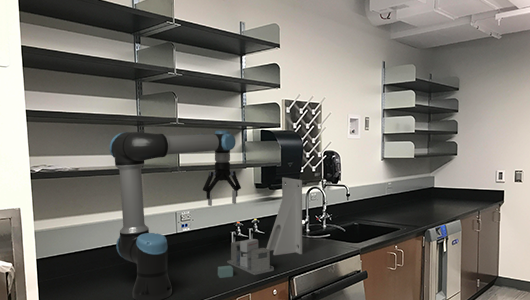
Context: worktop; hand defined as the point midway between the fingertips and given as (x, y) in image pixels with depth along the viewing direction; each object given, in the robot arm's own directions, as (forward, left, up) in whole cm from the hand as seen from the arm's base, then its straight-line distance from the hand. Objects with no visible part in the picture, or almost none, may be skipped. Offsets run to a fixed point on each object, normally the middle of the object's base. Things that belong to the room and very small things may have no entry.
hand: (222, 204), depth 207 cm
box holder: (+8, -12, -30) cm, 33 cm away
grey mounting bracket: (+38, +1, -30) cm, 49 cm away
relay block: (-8, -17, -30) cm, 35 cm away
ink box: (+8, -12, -29) cm, 32 cm away
